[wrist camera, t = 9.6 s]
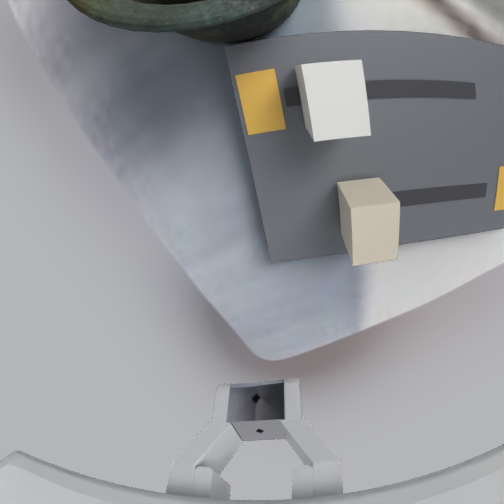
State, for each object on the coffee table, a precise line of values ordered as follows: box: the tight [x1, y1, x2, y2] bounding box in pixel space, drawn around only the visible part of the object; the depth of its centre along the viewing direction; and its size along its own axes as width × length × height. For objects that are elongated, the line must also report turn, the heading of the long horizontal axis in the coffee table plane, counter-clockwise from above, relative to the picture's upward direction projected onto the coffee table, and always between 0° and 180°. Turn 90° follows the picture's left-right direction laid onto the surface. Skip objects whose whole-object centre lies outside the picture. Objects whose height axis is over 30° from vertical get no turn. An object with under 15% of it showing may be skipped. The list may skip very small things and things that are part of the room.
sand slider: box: [337, 177, 400, 266], centre depth 19 cm, size 3×4×4 cm
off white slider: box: [295, 60, 371, 142], centre depth 15 cm, size 3×4×4 cm
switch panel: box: [224, 30, 504, 263], centre depth 19 cm, size 24×16×2 cm, turn 101°
